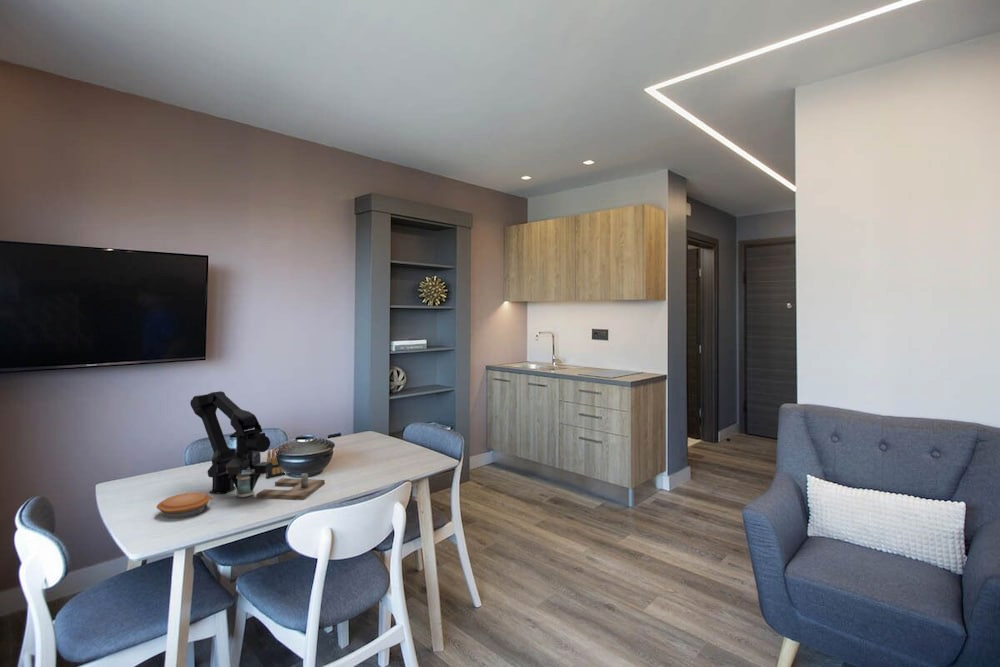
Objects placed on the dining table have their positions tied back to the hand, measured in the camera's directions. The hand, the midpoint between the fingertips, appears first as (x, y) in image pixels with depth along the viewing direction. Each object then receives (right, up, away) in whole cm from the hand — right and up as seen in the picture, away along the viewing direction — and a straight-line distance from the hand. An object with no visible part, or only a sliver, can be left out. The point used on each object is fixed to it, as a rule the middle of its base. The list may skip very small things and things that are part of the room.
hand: (245, 489), depth 182 cm
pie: (-13, -3, -15) cm, 20 cm away
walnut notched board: (+14, -2, +7) cm, 16 cm away
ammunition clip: (+2, -2, +25) cm, 25 cm away
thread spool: (0, -2, 0) cm, 2 cm away
